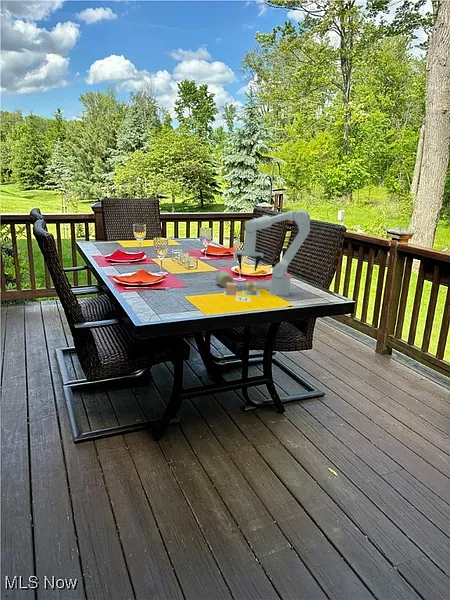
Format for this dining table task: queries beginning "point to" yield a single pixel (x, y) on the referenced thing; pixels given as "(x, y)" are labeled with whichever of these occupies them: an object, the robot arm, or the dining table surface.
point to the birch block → (251, 288)
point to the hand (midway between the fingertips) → (247, 270)
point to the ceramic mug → (223, 278)
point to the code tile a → (243, 299)
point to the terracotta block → (231, 288)
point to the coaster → (250, 295)
